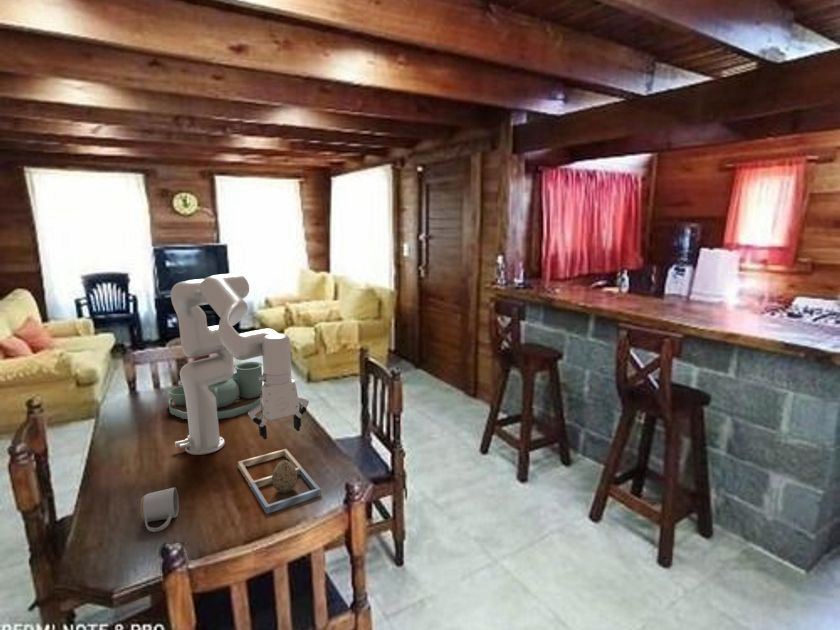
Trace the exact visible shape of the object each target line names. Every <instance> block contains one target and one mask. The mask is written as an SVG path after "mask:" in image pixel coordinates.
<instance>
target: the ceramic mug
mask: <svg viewBox="0 0 840 630" xmlns="http://www.w3.org/2000/svg"><path fill="white" fill-rule="evenodd" d="M179 503H180V502H179V494H178V491H177V488H176V487H170V488H166V489H161V490H158V491H153V492H150V493H146V494H144V495H142V497H141V500H140V516H141V519H142V521H144V524H145V527H146V529H147V530H148V531H149V532H152V533H157V532H161V531H164V530H165V529H166V528H168V526H169V525H170V522H171V520H172V519H174V518H177V517H178V514H179V507H180V506H179ZM163 520H166V521H165V522H164V523H163V524H162V525H160V526H159V527H151V526H149V522H155V521H163Z"/></svg>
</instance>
